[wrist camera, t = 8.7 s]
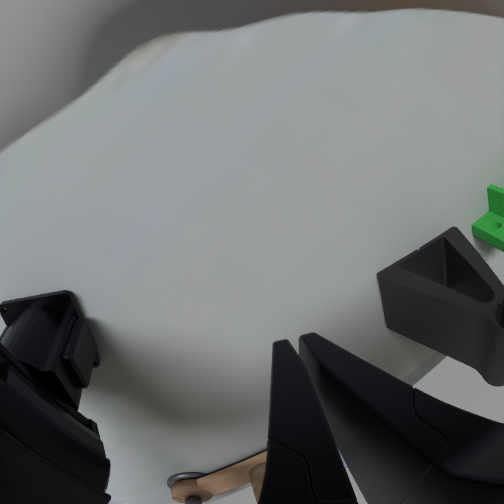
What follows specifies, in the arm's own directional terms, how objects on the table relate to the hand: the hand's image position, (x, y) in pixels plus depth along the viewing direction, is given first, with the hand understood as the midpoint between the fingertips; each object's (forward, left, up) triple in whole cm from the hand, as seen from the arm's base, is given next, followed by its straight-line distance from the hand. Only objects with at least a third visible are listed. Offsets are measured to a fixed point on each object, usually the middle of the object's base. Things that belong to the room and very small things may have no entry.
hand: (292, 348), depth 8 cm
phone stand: (+16, -8, -12) cm, 22 cm away
